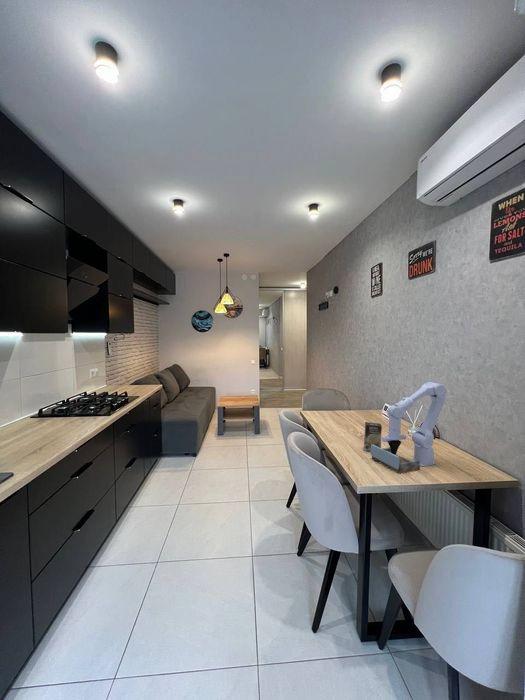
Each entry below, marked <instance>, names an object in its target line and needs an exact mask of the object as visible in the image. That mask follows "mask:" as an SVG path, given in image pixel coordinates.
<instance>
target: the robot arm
mask: <svg viewBox="0 0 525 700" xmlns="http://www.w3.org/2000/svg"><path fill="white" fill-rule="evenodd" d="M447 393H448V389H447V388H446V386H445V384H443V383H437V382H432V381H427V382H425V383H423V384H422V385H421V387H420V388H419V389H418V390H416V391H415V392H414V393H413V394H411V395H410V396H409V397H402V398H401V400H400V401H398V402H397V403H394V404H393V405H390V406H389V407H388V408H387V410H386V413H387V415H388V434H387V435H386V436H384V437H381V442H383V443H388V446H389V448H390V449H391V453H392V454H394V455H395V454H396V455H397V453H398V450H399V447H400V446H401V445H402V440H407V436H406V435H404V434H401V426H402V425H401V424H402V418H403V416H404V415H405V413H406V412H407V411H408V410H410V409H411V408H413V407H414V403H416V402H417V401H419V400H421V399H423V398H424V397H426V396H429V397H430V400H431V403H430V405H429V407H428V409H427V412H426V415H425V417H424V420H423V421H422V424H421V426H420V427H418V428H416V430H415V431H414V432H413V434H412V436H411V440H412V442H413V445H414V446H413V448H414V449H413V459H410V460H409V461H416V460H418V461H419V466H420V467H427V466H433V465H435V464H436V463H435V459H434V458H435V451H434V448H433V445H434V438H435V436H434V434H433V430H434V428H435V426H436V424H437V421H438V419H439V417H440V414H441V412H442V411H443V407H444V405H445V402H446V395H447ZM400 440H401V441H400Z"/></svg>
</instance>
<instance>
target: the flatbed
mask: <svg viewBox="0 0 525 700" xmlns="http://www.w3.org/2000/svg"><path fill="white" fill-rule="evenodd" d="M382 449H384V450H386V451H388V452H390V453H391V449H390V447H385V448H382ZM395 455H396V456H398V457H400V459H399V469H396V468H394V467H392V466H390V465H388V464H386V463H384V462H382V461H381V460H379V459H377V458H375V457H373V456H371V458H372V459H373V460H374V461H376V462H378V461H379V463H380V462H381V463H380V464H382V465H384V466H386V467H388V468H389V467H390V469H391V470H393V471H395V472H396V473H399V474H405V473H410V472H415V471H420V469H421V466H420V465H419V461H418V460H416V461H410V460H408V459H407V458H405V457H403V456H400V455H398V454H397V453H396V454H395Z"/></svg>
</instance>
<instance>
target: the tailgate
mask: <svg viewBox="0 0 525 700" xmlns="http://www.w3.org/2000/svg"><path fill="white" fill-rule="evenodd" d="M396 455H397V454H396ZM396 455H394V454H392V453H390V452H388V451H386V450H384V449H383V448H382V447H381V448H379V447H377V446H375V445H373V444H371V452H370V456H371V457H372V456H373V457H375V458H377V459H379V460H381V461H382V462H384V463H386V464H388V465H390V466H392V467H394V468H396V469H399V459H400V457H401V456H400V457H398V456H399V455H398V456H396Z"/></svg>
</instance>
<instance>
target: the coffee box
mask: <svg viewBox="0 0 525 700" xmlns="http://www.w3.org/2000/svg"><path fill="white" fill-rule="evenodd" d="M363 435H364V439H363V450H364V452H369V453H371V444H373V445H375V446H377V447H379V448H381V449H382V447H381V446H382V424H381V423H378V422H369V421H365V422H364V433H363Z"/></svg>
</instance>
